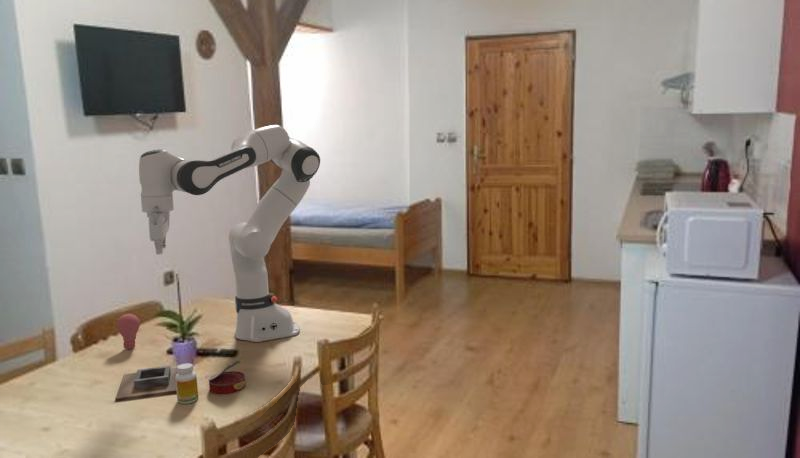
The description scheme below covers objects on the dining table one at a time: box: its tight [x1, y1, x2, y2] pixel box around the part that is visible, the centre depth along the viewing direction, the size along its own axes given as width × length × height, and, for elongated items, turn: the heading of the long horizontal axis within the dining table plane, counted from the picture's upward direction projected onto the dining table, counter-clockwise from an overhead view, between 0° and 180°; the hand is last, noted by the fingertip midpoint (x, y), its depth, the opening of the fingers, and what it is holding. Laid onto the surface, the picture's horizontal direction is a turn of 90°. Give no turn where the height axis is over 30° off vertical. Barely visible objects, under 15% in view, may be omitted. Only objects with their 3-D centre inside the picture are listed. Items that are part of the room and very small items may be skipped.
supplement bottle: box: [176, 362, 199, 405], centre depth 175 cm, size 5×5×10 cm
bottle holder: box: [115, 365, 178, 402], centre depth 188 cm, size 18×18×3 cm
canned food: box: [208, 360, 246, 396], centre depth 183 cm, size 11×10×10 cm
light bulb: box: [116, 313, 141, 350], centre depth 217 cm, size 7×7×12 cm
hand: (161, 251), depth 195 cm, fingers open, 8 cm apart
